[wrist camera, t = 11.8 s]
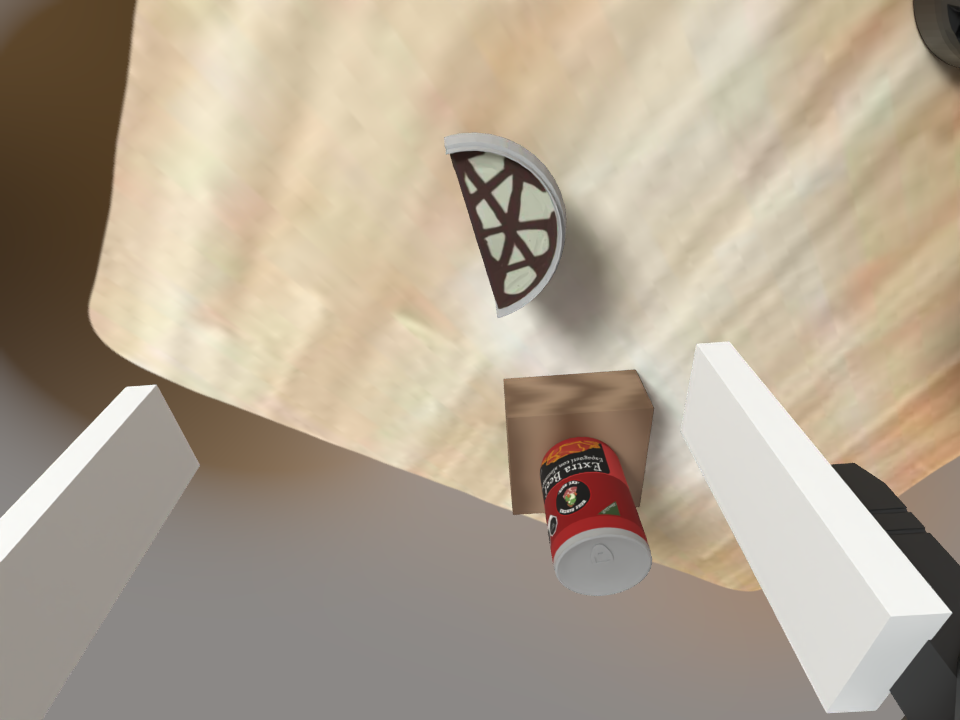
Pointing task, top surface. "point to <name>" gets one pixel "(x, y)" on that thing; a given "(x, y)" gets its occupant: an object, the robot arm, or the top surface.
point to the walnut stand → (574, 426)
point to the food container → (510, 214)
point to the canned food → (592, 519)
